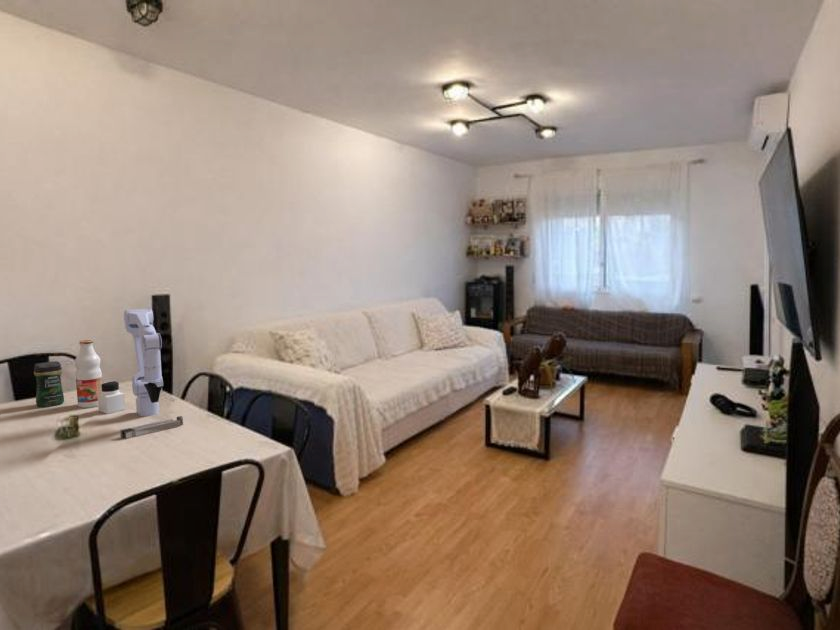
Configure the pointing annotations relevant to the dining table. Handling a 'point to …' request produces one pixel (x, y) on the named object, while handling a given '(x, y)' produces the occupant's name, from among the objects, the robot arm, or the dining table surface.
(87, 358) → the fruit juice
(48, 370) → the coffee jar
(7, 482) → the dining table surface
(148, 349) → the robot arm
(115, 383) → the medicine bottle
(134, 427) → the hinged tong arm
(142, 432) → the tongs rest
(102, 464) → the dining table surface
